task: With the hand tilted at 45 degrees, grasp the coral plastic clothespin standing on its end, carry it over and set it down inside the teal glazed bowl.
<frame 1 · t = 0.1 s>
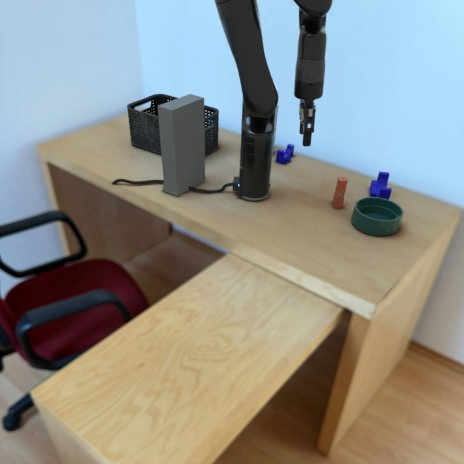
hand: (304, 139, 123), 17 cm above the table, tool pointing down, fingers open, 8 cm apart
tall grey upright pillar: (184, 186, 137), on the table
storage bin: (175, 146, 159), on the table
cable holder: (286, 160, 154), on the table
bowl: (374, 224, 124), on the table
candy bar box: (257, 151, 158), on the table
clothespin: (337, 205, 131), on the table
cable clip: (377, 199, 135), on the table
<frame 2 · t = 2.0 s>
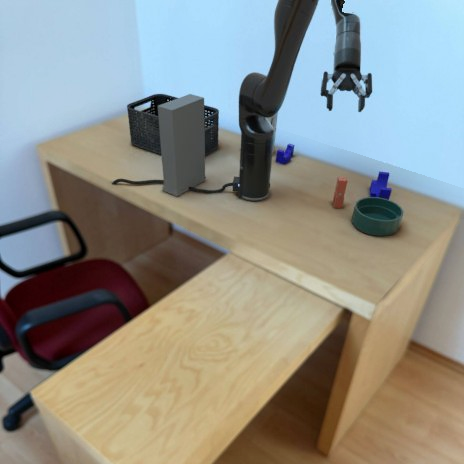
hand: (345, 110, 125), 23 cm above the table, tool tilted 45°, fingers open, 8 cm apart
nothing on the table moved.
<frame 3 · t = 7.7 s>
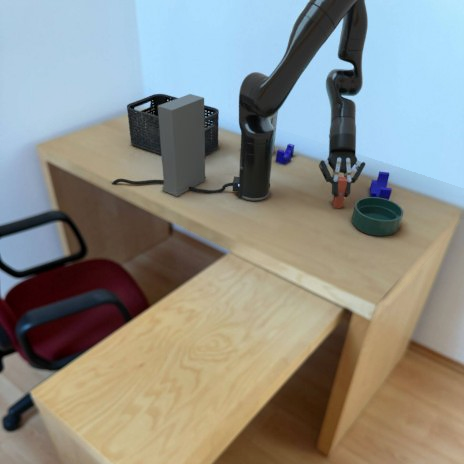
hand: (341, 196, 127), 4 cm above the table, tool tilted 45°, fingers closed on clothespin, 2 cm apart
clothespin: (337, 205, 131), on the table, touching gripper
everything else where it was.
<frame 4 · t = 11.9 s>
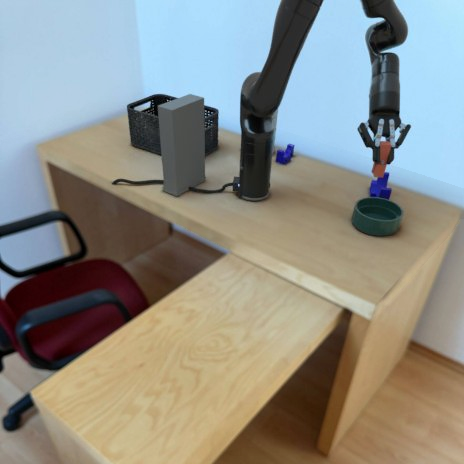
hand: (383, 163, 112), 18 cm above the table, tool tilted 45°, fingers closed on clothespin, 2 cm apart
clothespin: (377, 174, 117), point 14 cm above the table, touching gripper
everything else where it was.
when the fingers open (5 cm above the table, at t = 16.0 s): clothespin stays where it is, resting on bowl.
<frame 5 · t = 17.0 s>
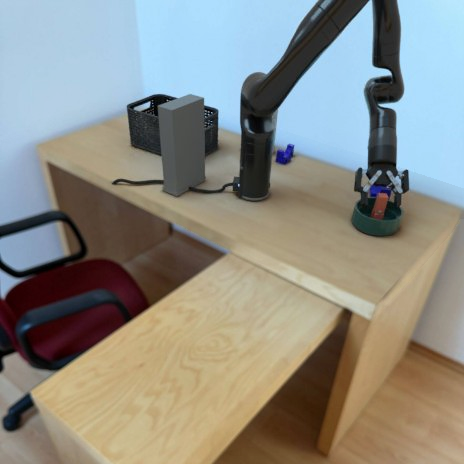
hand: (380, 207, 119), 6 cm above the table, tool tilted 45°, fingers open, 8 cm apart
clothespin: (375, 222, 124), resting on bowl
everything else where it was.
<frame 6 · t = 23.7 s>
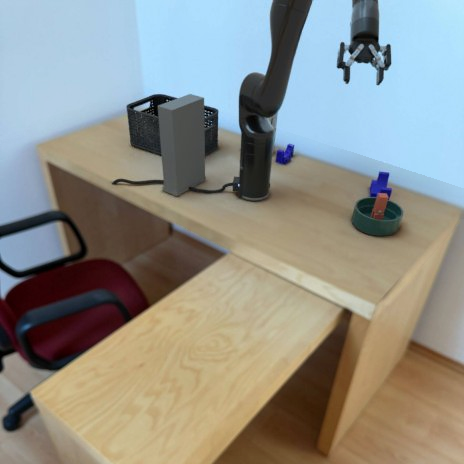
hand: (363, 83, 119), 31 cm above the table, tool tilted 45°, fingers open, 8 cm apart
nothing on the table moved.
at the end: clothespin inside the target area in the bowl (0.1 cm from its centre), point 0.5 cm above the bowl's base; the gripper is holding nothing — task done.
